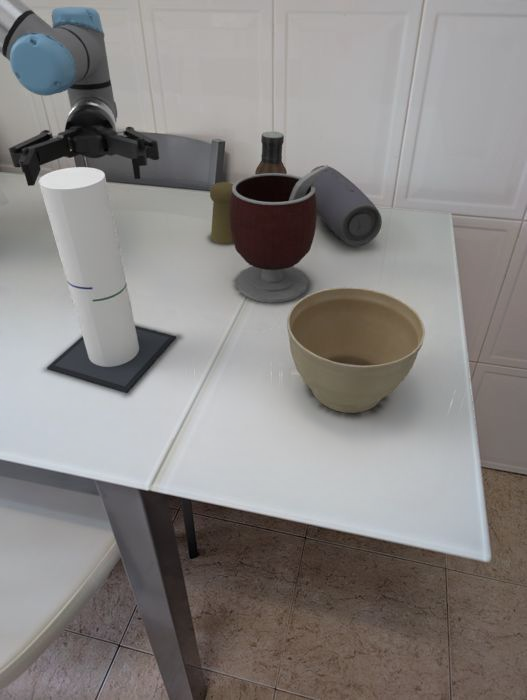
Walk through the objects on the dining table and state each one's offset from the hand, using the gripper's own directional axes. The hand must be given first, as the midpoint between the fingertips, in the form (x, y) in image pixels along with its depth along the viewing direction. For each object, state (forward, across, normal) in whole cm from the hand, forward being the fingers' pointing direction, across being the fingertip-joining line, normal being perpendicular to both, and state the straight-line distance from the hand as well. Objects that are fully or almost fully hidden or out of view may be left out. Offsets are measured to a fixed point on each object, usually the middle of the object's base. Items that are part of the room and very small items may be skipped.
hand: (83, 172), depth 65 cm
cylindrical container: (+10, 0, -23) cm, 25 cm away
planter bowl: (+24, -30, -23) cm, 45 cm away
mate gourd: (-4, -28, -23) cm, 36 cm away
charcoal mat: (+10, 0, -23) cm, 25 cm away
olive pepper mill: (-24, -22, -23) cm, 40 cm away
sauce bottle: (-23, -31, -23) cm, 44 cm away
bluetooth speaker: (-24, -46, -23) cm, 56 cm away
